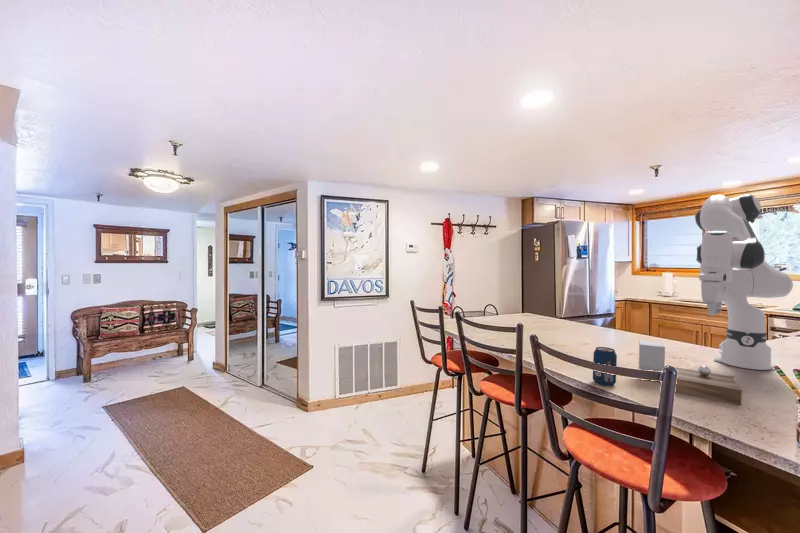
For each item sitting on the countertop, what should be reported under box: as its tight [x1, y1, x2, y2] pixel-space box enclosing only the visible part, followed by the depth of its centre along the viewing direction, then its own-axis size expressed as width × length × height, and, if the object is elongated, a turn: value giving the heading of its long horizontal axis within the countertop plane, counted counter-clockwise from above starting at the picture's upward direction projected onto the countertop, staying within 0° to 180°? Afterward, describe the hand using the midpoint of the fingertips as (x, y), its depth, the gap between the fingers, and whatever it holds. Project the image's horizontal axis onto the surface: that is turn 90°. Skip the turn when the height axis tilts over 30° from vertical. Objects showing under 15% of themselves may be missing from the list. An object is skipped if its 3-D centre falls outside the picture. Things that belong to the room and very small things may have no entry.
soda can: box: [592, 346, 618, 388], centre depth 126 cm, size 7×7×12 cm
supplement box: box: [638, 340, 666, 371], centre depth 132 cm, size 7×7×13 cm
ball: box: [697, 365, 712, 376], centre depth 128 cm, size 4×4×4 cm
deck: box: [675, 367, 743, 406], centre depth 123 cm, size 24×16×4 cm, turn 142°
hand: (714, 314), depth 132 cm, fingers open, 8 cm apart
